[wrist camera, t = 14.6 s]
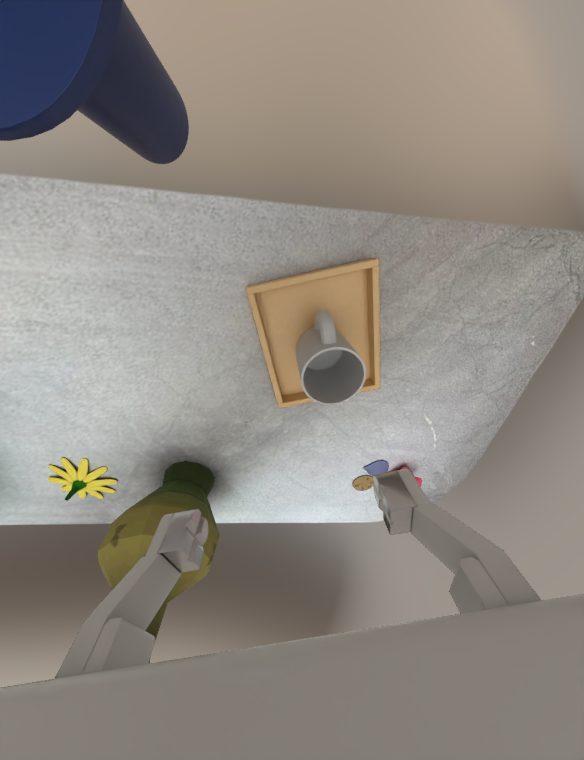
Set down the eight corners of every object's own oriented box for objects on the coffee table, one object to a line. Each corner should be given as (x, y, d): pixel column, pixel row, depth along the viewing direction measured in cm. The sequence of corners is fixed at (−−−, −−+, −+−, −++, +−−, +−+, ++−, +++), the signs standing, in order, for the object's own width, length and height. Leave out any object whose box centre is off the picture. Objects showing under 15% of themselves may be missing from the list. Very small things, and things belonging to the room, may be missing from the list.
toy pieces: (388, 448, 44) (399, 467, 40) (420, 472, 48) (433, 491, 44) (343, 481, 48) (349, 501, 44) (376, 500, 52) (384, 520, 48)
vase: (234, 502, 49) (186, 783, 23) (158, 505, 48) (16, 802, 22) (227, 447, 42) (142, 775, 15) (135, 448, 40) (-126, 804, 14)
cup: (298, 374, 34) (304, 409, 27) (289, 306, 30) (293, 325, 22) (345, 367, 34) (365, 400, 27) (344, 299, 30) (368, 314, 22)
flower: (124, 498, 47) (60, 497, 46) (110, 459, 41) (36, 456, 40) (111, 518, 43) (41, 517, 42) (94, 478, 38) (13, 475, 37)
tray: (247, 285, 29) (245, 288, 26) (370, 258, 28) (379, 258, 26) (278, 399, 37) (278, 408, 35) (373, 380, 36) (380, 388, 34)
